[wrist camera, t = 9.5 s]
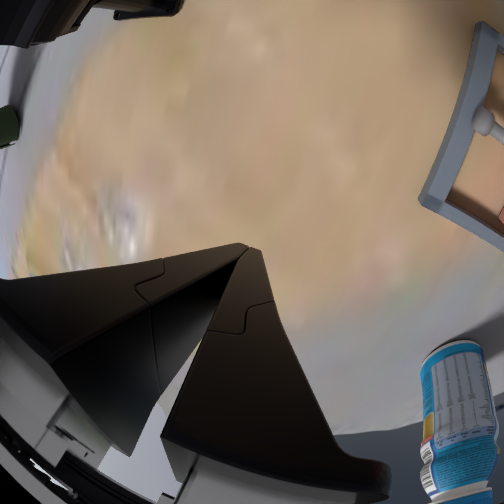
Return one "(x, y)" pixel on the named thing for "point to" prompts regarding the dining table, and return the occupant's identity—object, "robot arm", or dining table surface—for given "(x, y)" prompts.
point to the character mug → (8, 126)
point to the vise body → (464, 136)
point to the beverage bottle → (458, 425)
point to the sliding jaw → (488, 130)
